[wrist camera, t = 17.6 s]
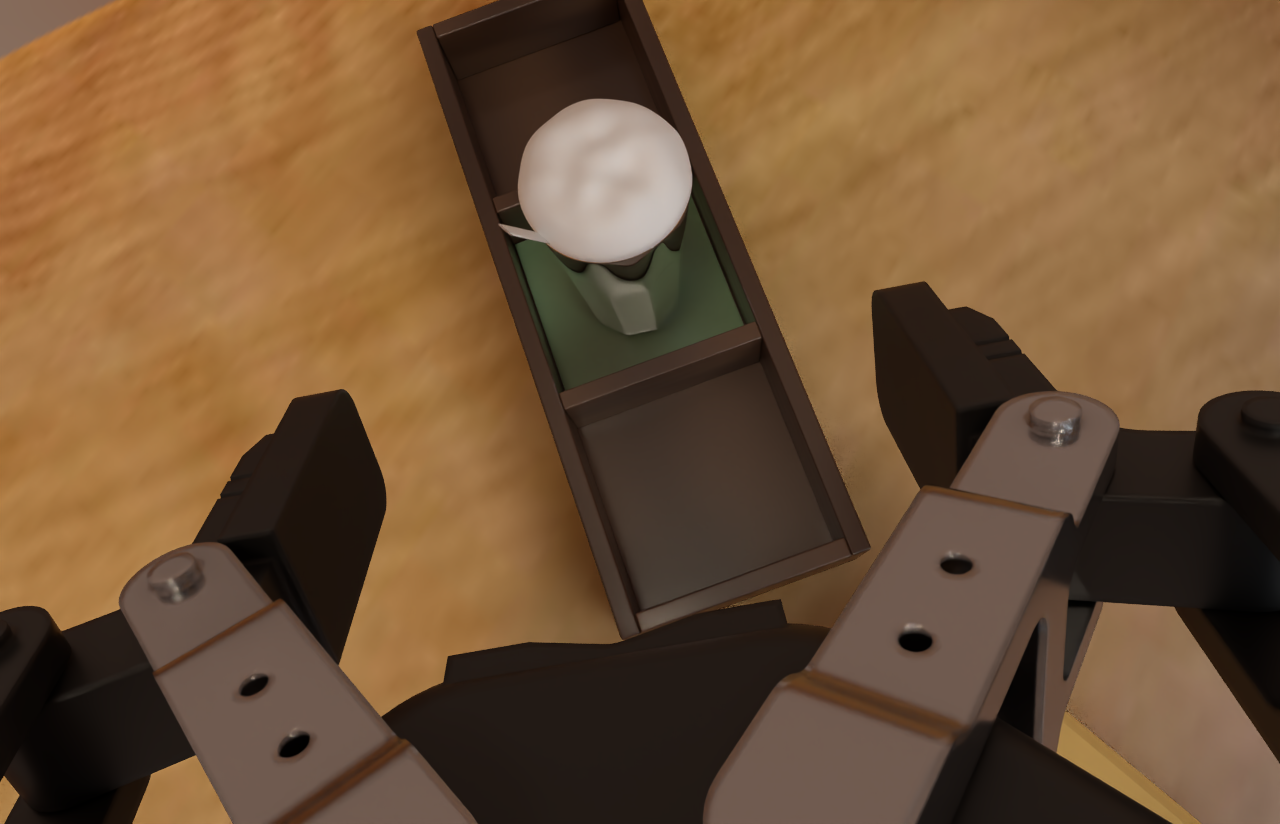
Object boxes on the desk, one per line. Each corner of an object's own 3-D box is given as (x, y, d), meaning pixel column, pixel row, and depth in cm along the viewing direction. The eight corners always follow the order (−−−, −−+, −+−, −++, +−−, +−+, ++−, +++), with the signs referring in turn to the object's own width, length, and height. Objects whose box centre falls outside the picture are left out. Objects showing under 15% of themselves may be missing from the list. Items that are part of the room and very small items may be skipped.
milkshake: (525, 312, 33) (439, 171, 23) (632, 204, 33) (592, 23, 24) (619, 398, 32) (570, 289, 22) (728, 286, 32) (728, 131, 22)
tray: (632, 13, 36) (623, -47, 33) (857, 558, 30) (871, 548, 27) (442, 82, 36) (415, 29, 33) (632, 641, 30) (621, 640, 27)
